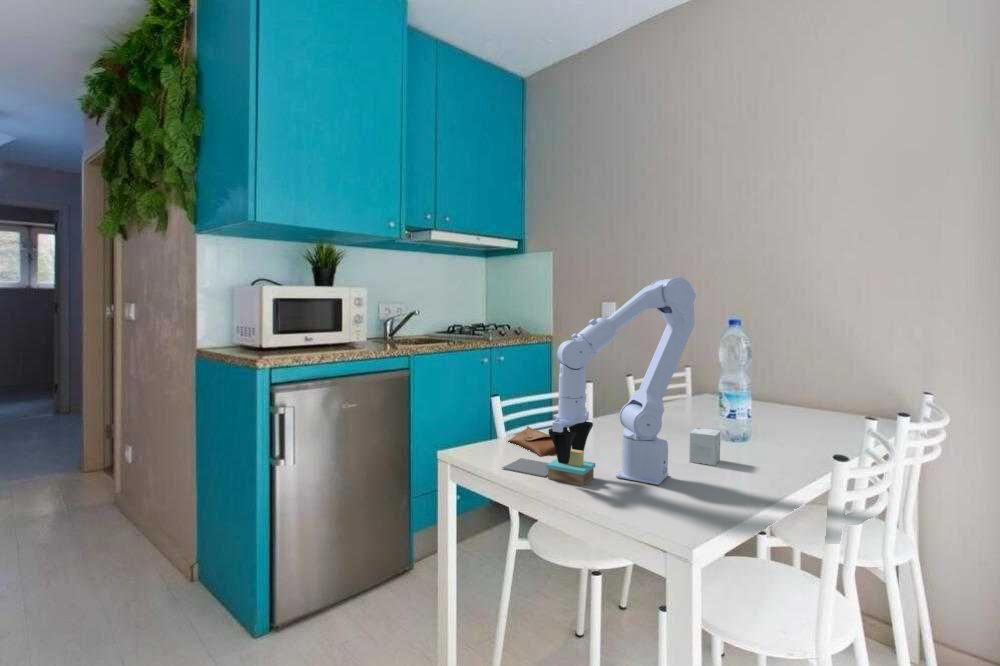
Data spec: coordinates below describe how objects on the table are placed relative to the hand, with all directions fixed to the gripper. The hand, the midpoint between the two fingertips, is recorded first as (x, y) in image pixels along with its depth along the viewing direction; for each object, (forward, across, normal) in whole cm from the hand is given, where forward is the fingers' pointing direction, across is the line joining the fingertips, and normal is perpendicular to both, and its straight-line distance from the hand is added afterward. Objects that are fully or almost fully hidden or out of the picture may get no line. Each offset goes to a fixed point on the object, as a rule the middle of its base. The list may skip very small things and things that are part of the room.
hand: (570, 458), depth 115 cm
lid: (+2, 0, 0) cm, 2 cm away
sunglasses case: (+5, -19, -18) cm, 27 cm away
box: (+4, 0, 0) cm, 4 cm away
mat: (+4, -2, -10) cm, 11 cm away
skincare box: (+4, -30, +22) cm, 37 cm away
